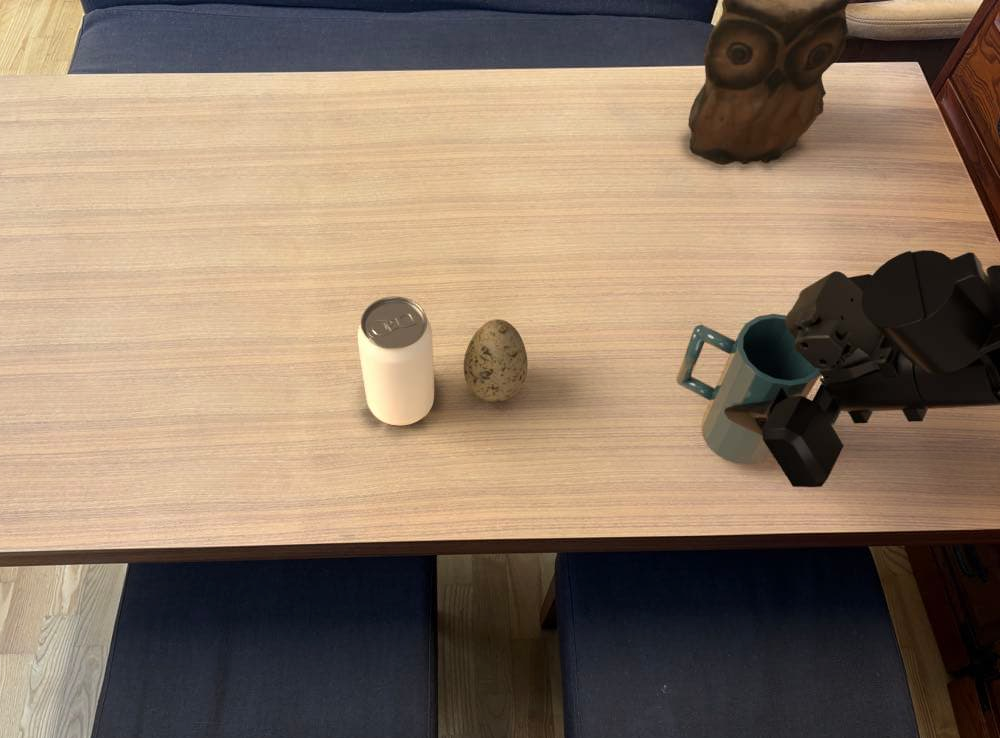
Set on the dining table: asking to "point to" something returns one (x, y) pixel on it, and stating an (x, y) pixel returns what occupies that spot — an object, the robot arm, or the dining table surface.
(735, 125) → the owl
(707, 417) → the teal mug
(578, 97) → the dining table surface
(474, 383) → the decorative egg
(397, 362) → the can
